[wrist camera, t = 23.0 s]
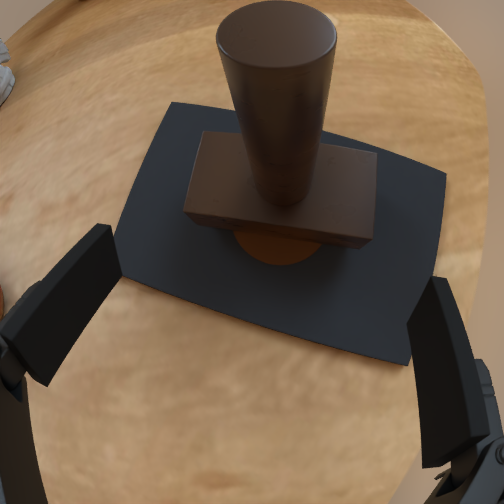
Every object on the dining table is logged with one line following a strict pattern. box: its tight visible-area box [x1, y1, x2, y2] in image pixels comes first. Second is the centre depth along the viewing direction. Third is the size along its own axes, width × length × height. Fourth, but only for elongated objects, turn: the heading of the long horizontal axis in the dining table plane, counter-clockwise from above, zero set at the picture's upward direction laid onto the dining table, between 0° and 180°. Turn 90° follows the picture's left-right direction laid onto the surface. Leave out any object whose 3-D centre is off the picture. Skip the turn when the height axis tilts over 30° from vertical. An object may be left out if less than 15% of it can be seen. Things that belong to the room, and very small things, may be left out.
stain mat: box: [114, 102, 447, 366], centre depth 20 cm, size 22×14×1 cm, turn 72°
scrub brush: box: [183, 0, 377, 250], centre depth 13 cm, size 10×5×14 cm, turn 80°
